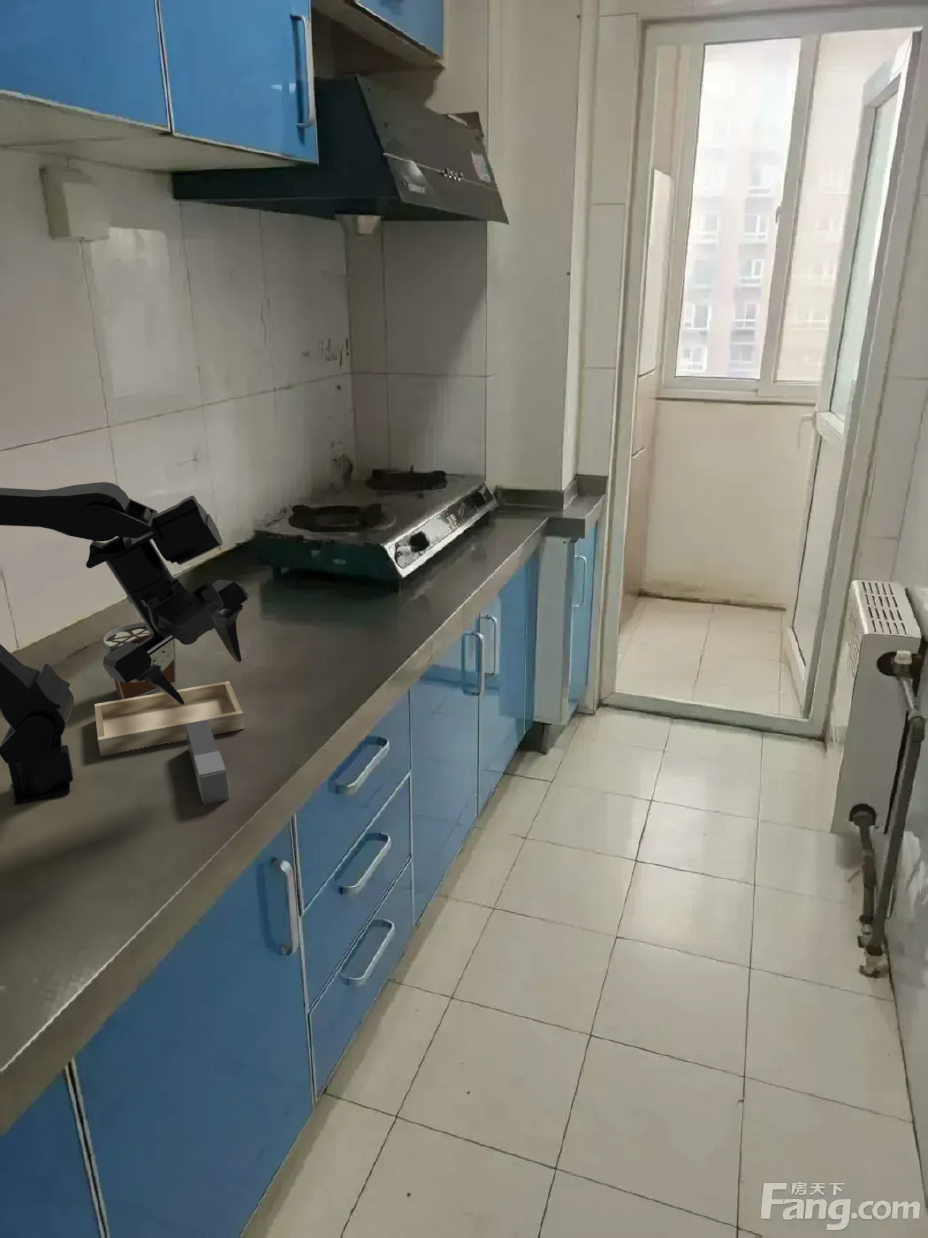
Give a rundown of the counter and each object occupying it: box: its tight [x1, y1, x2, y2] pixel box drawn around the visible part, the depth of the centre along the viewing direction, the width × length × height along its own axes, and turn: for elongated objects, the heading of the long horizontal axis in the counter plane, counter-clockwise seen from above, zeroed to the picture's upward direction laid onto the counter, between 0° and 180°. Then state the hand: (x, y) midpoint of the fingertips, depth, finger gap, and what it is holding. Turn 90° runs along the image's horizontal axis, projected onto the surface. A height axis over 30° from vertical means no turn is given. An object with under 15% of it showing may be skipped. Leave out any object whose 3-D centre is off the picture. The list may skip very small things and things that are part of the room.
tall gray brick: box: [185, 720, 230, 806], centre depth 113 cm, size 15×3×4 cm, turn 24°
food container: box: [101, 621, 177, 700], centre depth 136 cm, size 12×6×10 cm, turn 141°
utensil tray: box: [94, 680, 245, 757], centre depth 126 cm, size 20×12×3 cm, turn 114°
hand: (211, 682), depth 111 cm, fingers open, 9 cm apart
